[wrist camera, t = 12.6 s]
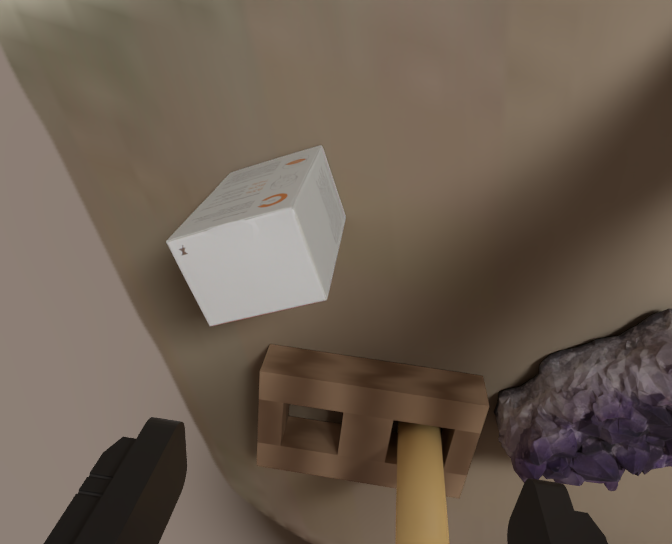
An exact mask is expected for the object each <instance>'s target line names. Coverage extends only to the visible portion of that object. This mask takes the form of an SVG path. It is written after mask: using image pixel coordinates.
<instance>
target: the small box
mask: <svg viewBox="0 0 672 544" xmlns="http://www.w3.org/2000/svg"><path fill="white" fill-rule="evenodd" d="M345 220H346V216H345V213H344V210H343V207H342V204H341V201H340V198H339V195H338V192H337V189H336V186H335V183H334V180H333V177H332V174H331V171H330V167H329V164H328V161H327V158H326V155H325V152H324V149H323V147H322V146H321V145H320V146H316V147H313V148H310V149H306V150H303V151H299V152H296V153H293V154H289V155H286V156H282V157H279V158H276V159H273V160H269V161H266V162H263V163H260V164H256V165H253V166H250V167H247V168H243V169H240V170H237V171H234V172H231V173H229V174H228V176H227V177H226V178H225V179H224V180H223V181H222V182H221V183H220V184H219V186H218V187H217V188H216V189H215V190H214V191H213V192H212V193H211V194H210V195H209V196H208V197H207V198H206V199H205V201H204V202H203V203H202V204H201V205H200V206H199V207H198V208H197V209H196V210H195V211H194V212H193V213H192V214H191V215H190V216H189V217H188V218H187V219H186V220H185V222H184V223H183V224H182V225H181V226H180V227H179V228H178V229H177V230H176V231H175V232H174V233H173V234H172V235H171V236H170V238H169V239H168V240H167V241H166V243H167V245H168V247H169V248H170V250H171V252H172V254H173V256H174V258H175V260H176V262H177V264H178V266H179V268H180V270H181V272H182V274H183V276H184V278H185V280H186V282H187V284H188V286H189V288H190V289H191V291H192V293H193V295H194V297H195V299H196V301H197V303H198V305H199V307H200V309H201V311H202V312H203V314H204V316H205V318H206V320H207V322H208V324H209V326H216V325H220V324H225V323H229V322H233V321H238V320H242V319H247V318H251V317H256V316H260V315H265V314H269V313H273V312H278V311H282V310H287V309H291V308H295V307H300V306H304V305H309V304H313V303H318V302H322V301H326V300H327V298H328V294H329V289H330V285H331V281H332V276H333V272H334V267H335V263H336V259H337V254H338V250H339V246H340V242H341V237H342V232H343V228H344V224H345Z"/></svg>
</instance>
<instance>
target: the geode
mask: <svg viewBox="0 0 672 544" xmlns="http://www.w3.org/2000/svg"><path fill="white" fill-rule="evenodd" d="M494 413H495V415H496V420H497V425H498V429H499V436H500V437H499V438H498V440H499V442H502V447H503V448H504V449H505V451H506V453H507V455H508V456H509V457H510V458H511V461H512V465H513V468H514V471H515V472H516V473H517V474H518V476H519V477H520V478H521V479H522V481H523V482H524V483H525V481H526V480H527V479H528V478H531V479H537V480H539V478H540V477H541V476H542V475H543V476H544V477H545V478H546V479H554V481H555V482H556V483H562V484H569V485H576V486H580V485H582V484H583V482H584V481H586V482H592V483H604V484H605V486H606V487H607V489H608V490H610V491H615V490H616V489H617V486H618V482H619V480H621V479H620V478H621V476H622V474H623V473H624V471H625V469H626V470H628V471H629V472H630V473H632V474H635V475H637V476H639V474H640V473H641V472H643V473H644V475H645V474H646V473H647V472H649V471H650V470H651V469H655V468H663V467H667V466H672V309H667V310H664V311H662V312H659V313H656V314H653V315H651V316H649V317H648V318H646V319H645V320H643V321H642V322H641V323H640V324H638V325H637V326H635V327H633V328H631V329H629V330H627V331H625V332H624V333H622V334H621V335H619V336H614V337H607V338H601V339H596V340H594V341H592V342H590V343H588V344H585V345H582V346H579V347H575V348H572V349H567V350H562V351H559V352H556V353H554V354H551V355H549V356H548V357H547V358H546V359H544V360H543V361H542V363H541V364H540V366H539V374H538V375H537V376H535V377H534V378H532V379H531V380H529V381H528V382H526V383H525V384H523V385H522V386H520V387H517V388H512V389H507V390H503V391H500V392H499V395H498V402H497V405H496V408H495V411H494Z"/></svg>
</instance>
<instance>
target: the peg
mask: <svg viewBox="0 0 672 544" xmlns="http://www.w3.org/2000/svg"><path fill="white" fill-rule="evenodd" d="M396 544H449V532H448V519H447V507H446V494H445V481H444V468H443V456H442V443H441V430H440V427H435V426H429V425H422V424H416V423H409V422H403V421H398V446H397V496H396Z"/></svg>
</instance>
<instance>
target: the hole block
mask: <svg viewBox="0 0 672 544" xmlns="http://www.w3.org/2000/svg"><path fill="white" fill-rule="evenodd" d="M289 404H293V405H300V406H306V407H313V408H319V409H326V410H332V411H338V412H343V420H342V424H337V423H331V422H324V421H318V420H311V419H305V418H299V417H292V416H289ZM488 409H489V402H488V397H487V392H486V388H485V383H484V378H483V376H481V375H474V374H467V373H461V372H454V371H447V370H441V369H434V368H427V367H420V366H414V365H407V364H400V363H394V362H387V361H380V360H374V359H367V358H360V357H353V356H347V355H340V354H333V353H327V352H320V351H313V350H307V349H300V348H293V347H287V346H280V345H273V344H270V345H269V348H268V351H267V353H266V356H265V359H264V361H263V364H262V367H261V369H260V380H259V410H258V440H257V466H262V467H268V468H274V469H280V470H286V471H293V472H299V473H305V474H311V475H317V476H323V477H330V478H336V479H342V480H348V481H354V482H360V483H367V484H373V485H379V486H385V487H391V488H397V446H398V433H394V432H391V429H392V425H393V420H396V421H403V422H409V423H416V424H422V425H429V426H435V427H442V428H443V431H442V434H441V443H442V456H443V468H444V481H445V494H446V496H447V497H453V498H460V495H461V492H462V489H463V486H464V483H465V480H466V477H467V474H468V471H469V468H470V464H471V461H472V458H473V455H474V452H475V449H476V446H477V443H478V440H479V437H480V434H481V431H482V428H483V424H484V421H485V418H486V415H487V412H488Z"/></svg>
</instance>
